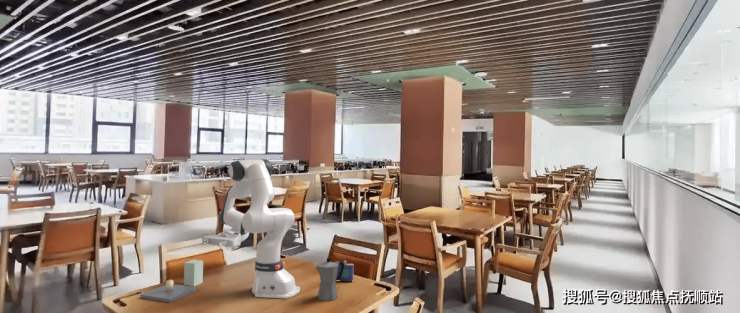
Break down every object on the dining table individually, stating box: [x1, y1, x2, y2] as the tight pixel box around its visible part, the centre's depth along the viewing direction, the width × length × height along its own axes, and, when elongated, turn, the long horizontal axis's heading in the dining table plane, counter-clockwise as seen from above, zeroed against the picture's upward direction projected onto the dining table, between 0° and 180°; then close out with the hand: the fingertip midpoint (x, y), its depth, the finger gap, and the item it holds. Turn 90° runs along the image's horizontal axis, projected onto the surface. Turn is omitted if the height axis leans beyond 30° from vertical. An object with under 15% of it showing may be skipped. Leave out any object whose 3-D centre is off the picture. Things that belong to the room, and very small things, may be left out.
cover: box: [183, 259, 204, 287], centre depth 185 cm, size 6×6×11 cm
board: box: [139, 279, 198, 304], centre depth 171 cm, size 16×16×6 cm
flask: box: [335, 260, 355, 281], centre depth 194 cm, size 9×3×11 cm, turn 88°
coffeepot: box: [314, 257, 345, 302], centre depth 172 cm, size 15×9×18 cm, turn 127°
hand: (210, 243), depth 197 cm, fingers open, 8 cm apart
